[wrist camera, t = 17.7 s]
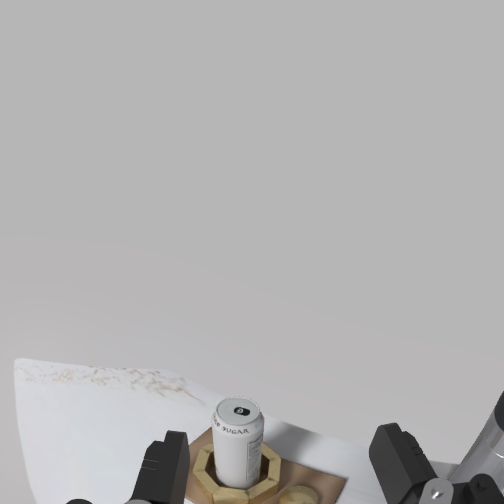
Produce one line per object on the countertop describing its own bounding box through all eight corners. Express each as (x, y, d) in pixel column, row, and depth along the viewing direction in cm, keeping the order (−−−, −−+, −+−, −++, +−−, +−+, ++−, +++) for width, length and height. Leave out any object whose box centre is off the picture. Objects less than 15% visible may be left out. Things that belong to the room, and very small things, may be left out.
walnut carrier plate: (344, 483, 33) (346, 479, 32) (302, 554, 21) (304, 552, 21) (211, 430, 45) (211, 426, 45) (155, 476, 33) (153, 472, 33)
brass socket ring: (314, 455, 38) (318, 442, 37) (316, 518, 26) (321, 507, 25) (207, 446, 40) (205, 432, 39) (187, 505, 28) (184, 493, 27)
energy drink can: (227, 459, 37) (224, 388, 34) (265, 470, 35) (272, 400, 32) (209, 486, 32) (201, 417, 29) (250, 499, 30) (253, 434, 26)
